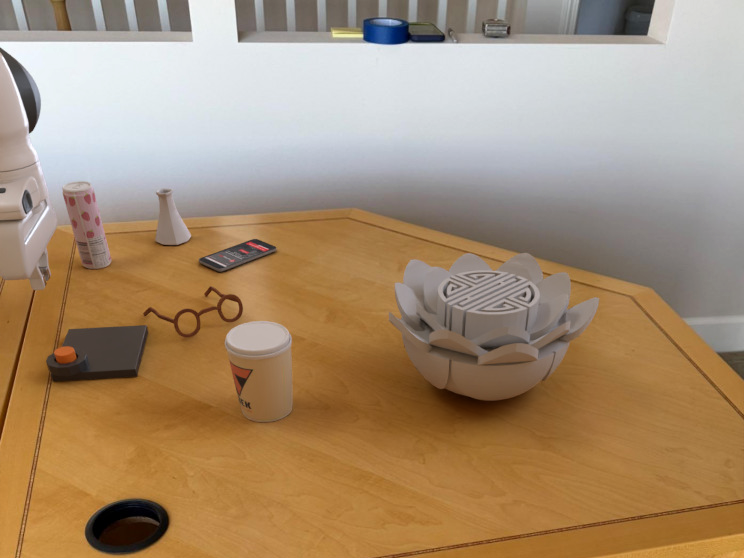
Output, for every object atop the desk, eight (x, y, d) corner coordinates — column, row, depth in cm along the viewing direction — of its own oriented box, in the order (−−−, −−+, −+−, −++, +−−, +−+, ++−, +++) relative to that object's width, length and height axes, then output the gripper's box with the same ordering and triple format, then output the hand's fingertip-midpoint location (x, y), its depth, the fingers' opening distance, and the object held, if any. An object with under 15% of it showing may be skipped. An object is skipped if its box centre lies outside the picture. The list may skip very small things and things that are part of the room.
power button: (55, 365, 120) (52, 356, 119) (58, 355, 122) (56, 346, 121) (74, 363, 120) (72, 355, 119) (78, 354, 122) (75, 345, 121)
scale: (48, 385, 121) (42, 368, 119) (68, 336, 132) (63, 320, 130) (136, 380, 122) (132, 363, 120) (148, 332, 134) (144, 316, 132)
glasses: (179, 343, 131) (174, 315, 127) (143, 316, 138) (137, 289, 135) (245, 319, 137) (242, 293, 134) (207, 295, 144) (203, 269, 141)
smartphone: (278, 247, 159) (219, 269, 151) (278, 250, 160) (220, 273, 151) (255, 238, 163) (196, 259, 154) (255, 241, 163) (197, 262, 155)
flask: (149, 243, 163) (138, 194, 156) (169, 231, 168) (159, 183, 161) (178, 248, 161) (168, 198, 154) (197, 236, 166) (189, 187, 159)
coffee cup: (229, 399, 118) (216, 326, 110) (287, 386, 121) (280, 315, 112) (244, 431, 111) (233, 357, 103) (306, 417, 114) (299, 343, 106)
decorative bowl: (469, 316, 139) (475, 232, 128) (609, 378, 123) (628, 288, 113) (343, 377, 123) (338, 286, 113) (484, 457, 107) (494, 360, 97)
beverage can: (111, 256, 157) (91, 179, 147) (112, 267, 153) (93, 189, 143) (82, 260, 156) (60, 182, 146) (82, 271, 152) (60, 192, 142)
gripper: (6, 161, 111) (36, 256, 120) (-36, 212, 96) (2, 316, 105) (51, 160, 112) (77, 254, 121) (17, 210, 96) (50, 313, 106)
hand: (42, 283), depth 113 cm, fingers closed
